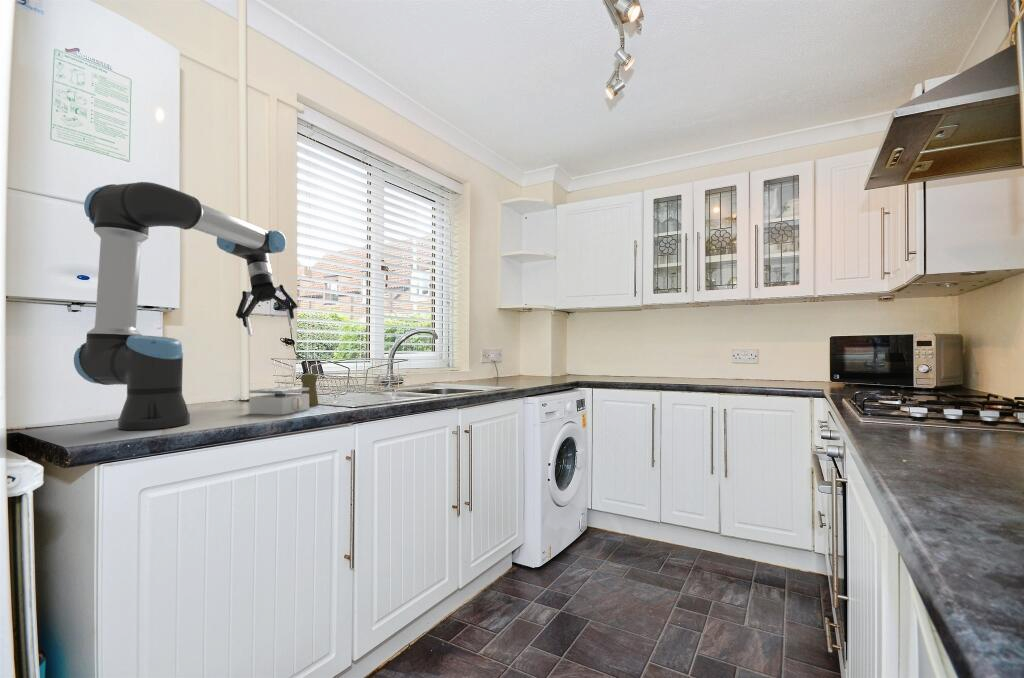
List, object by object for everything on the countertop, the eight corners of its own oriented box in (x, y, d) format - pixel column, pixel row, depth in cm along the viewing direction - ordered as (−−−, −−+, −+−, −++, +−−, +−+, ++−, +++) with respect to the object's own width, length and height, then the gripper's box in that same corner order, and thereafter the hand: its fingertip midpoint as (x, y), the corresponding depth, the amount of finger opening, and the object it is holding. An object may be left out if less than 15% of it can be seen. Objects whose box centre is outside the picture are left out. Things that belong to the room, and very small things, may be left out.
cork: (321, 404, 170) (321, 372, 170) (313, 406, 164) (313, 373, 164) (305, 404, 171) (305, 372, 171) (296, 406, 165) (295, 373, 165)
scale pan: (282, 393, 145) (282, 391, 145) (249, 393, 148) (249, 390, 148) (309, 390, 157) (309, 387, 157) (277, 389, 160) (277, 386, 160)
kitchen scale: (284, 414, 145) (284, 394, 145) (249, 413, 148) (249, 393, 148) (311, 409, 157) (311, 390, 157) (277, 408, 160) (277, 390, 160)
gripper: (299, 274, 186) (309, 326, 181) (227, 286, 179) (236, 341, 175) (295, 266, 179) (305, 320, 174) (220, 279, 172) (229, 335, 167)
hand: (271, 331), depth 174 cm, fingers open, 13 cm apart
